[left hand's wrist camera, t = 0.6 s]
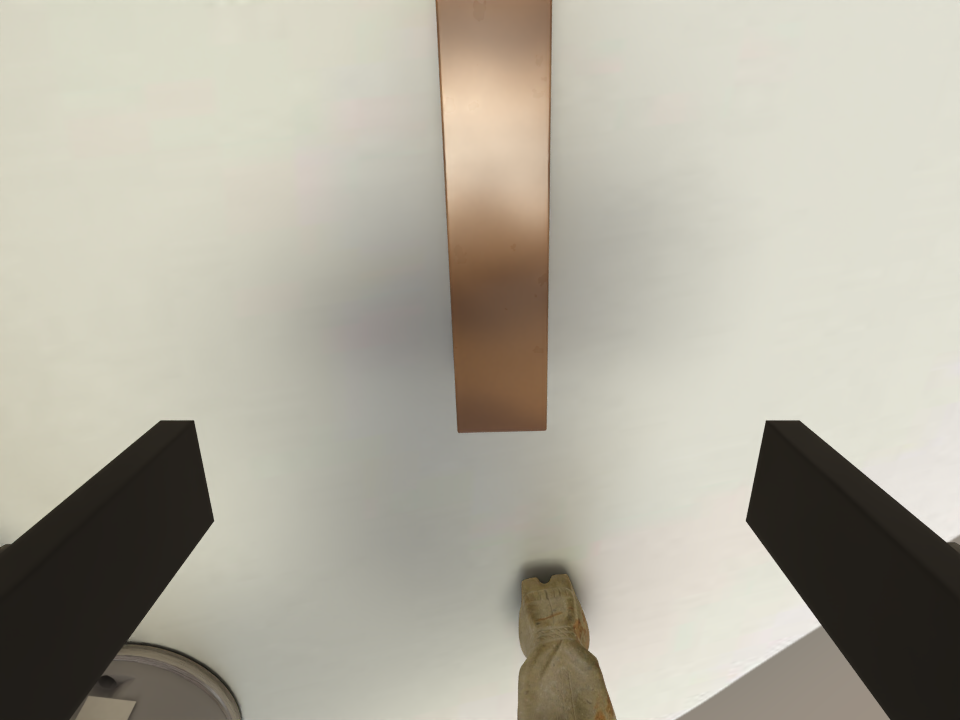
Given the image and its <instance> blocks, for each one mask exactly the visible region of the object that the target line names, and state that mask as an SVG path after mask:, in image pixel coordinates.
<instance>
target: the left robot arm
mask: <svg viewBox="0 0 960 720" xmlns="http://www.w3.org/2000/svg"><path fill="white" fill-rule="evenodd" d="M213 522H214V518H213V513H212V508H211V503H210V498H209V493H208V488H207V483H206V478H205V473H204V468H203V463H202V458H201V453H200V448H199V443H198V438H197V433H196V428H195V423H194V421H159V422H158V423H157V424H156V425H155V426H153V427H152V428H151V429H150V430H149V431H147V432H146V433H145V434H144V435H143V436H141V437H140V438H139V439H138V440H136V441H135V442H134V443H133V444H132V445H130V446H129V447H128V448H127V449H126V450H124V451H123V452H122V453H121V454H120V455H118V456H117V457H116V458H115V459H114V460H112V461H111V462H110V463H109V464H108V465H106V466H105V467H104V468H103V469H102V470H100V471H99V472H98V473H97V474H95V475H94V476H93V477H92V478H91V479H89V480H88V481H87V482H86V483H85V484H83V485H82V486H81V487H80V488H79V489H77V490H76V491H75V492H74V493H73V494H71V495H70V496H69V497H68V498H67V499H65V500H64V501H63V502H62V503H61V504H59V505H58V506H57V507H56V508H54V509H53V510H52V511H51V512H50V513H48V514H47V515H46V516H45V517H44V518H42V519H41V520H40V521H39V522H38V523H36V524H35V525H34V526H33V527H32V528H30V529H29V530H28V531H27V532H26V533H24V534H23V535H22V536H21V537H20V538H18V539H17V540H16V541H15V542H14V543H12V544H5V545H4V546H2V547H0V720H241V718H240V712H239V709H238V706H237V704H236V702H235V700H234V698H233V696H232V695H231V693H230V692H229V690H228V689H227V688H226V686H225V685H224V684H223V683H222V682H221V681H220V680H219V679H218V678H217V677H216V676H215V675H213V674H212V673H211V672H209V671H208V670H207V669H205V668H204V667H202V666H201V665H199V664H198V663H196V662H194V661H192V660H190V659H188V658H186V657H184V656H182V655H179V654H176V653H174V652H171V651H168V650H164V649H160V648H156V647H151V646H145V645H135V644H125V643H126V641H127V640H128V639H129V637H130V636H131V635H132V633H133V632H134V630H135V629H136V628H137V626H138V625H139V624H140V622H141V621H142V619H143V618H144V617H145V615H146V614H147V613H148V611H149V610H150V608H151V607H152V606H153V604H154V603H155V602H156V600H157V599H158V597H159V596H160V595H161V593H162V592H163V591H164V589H165V588H166V586H167V585H168V584H169V582H170V581H171V580H172V578H173V577H174V575H175V574H176V573H177V571H178V570H179V569H180V567H181V566H182V564H183V563H184V562H185V560H186V559H187V558H188V556H189V555H190V553H191V552H192V551H193V549H194V548H195V547H196V545H197V544H198V542H199V541H200V540H201V538H202V537H203V536H204V534H205V533H206V531H207V530H208V529H209V527H210V526H211V525H212V523H213ZM746 522H747V523H748V525H749V526H750V527H751V529H752V530H753V531H754V533H755V534H756V536H757V537H758V538H759V540H760V541H761V542H762V544H763V545H764V547H765V548H766V549H767V551H768V552H769V553H770V555H771V556H772V558H773V559H774V560H775V562H776V563H777V564H778V566H779V567H780V569H781V570H782V571H783V573H784V574H785V575H786V577H787V578H788V580H789V581H790V582H791V584H792V585H793V586H794V588H795V589H796V591H797V592H798V593H799V595H800V596H801V597H802V599H803V600H804V602H805V603H806V604H807V606H808V607H809V608H810V610H811V611H812V613H813V614H814V615H815V617H816V618H817V619H818V621H819V622H820V624H821V625H822V626H823V628H824V629H825V630H826V632H827V633H828V635H829V636H830V637H831V639H832V640H833V641H834V643H835V644H836V646H837V647H838V648H839V650H840V651H841V652H842V654H843V655H844V657H845V658H846V659H847V661H848V662H849V663H850V665H851V666H852V668H853V669H854V670H855V672H856V673H857V674H858V676H859V677H860V678H861V680H862V681H863V683H864V684H865V685H866V687H867V688H868V689H869V691H870V692H871V694H872V695H873V696H874V698H875V699H876V700H877V702H878V703H879V705H880V706H881V707H882V709H883V710H884V712H885V713H886V714H887V716H888V717H889V718H890V720H960V545H959V544H957V543H955V542H945V541H944V540H943V539H942V538H940V537H939V536H938V535H937V534H936V533H934V532H933V531H932V530H931V529H930V528H928V527H927V526H926V525H925V524H924V523H922V522H921V521H920V520H919V519H918V518H916V517H915V516H914V515H913V514H912V513H910V512H909V511H908V510H907V509H906V508H904V507H903V506H902V505H901V504H899V503H898V502H897V501H896V500H895V499H893V498H892V497H891V496H890V495H889V494H887V493H886V492H885V491H884V490H883V489H881V488H880V487H879V486H878V485H877V484H875V483H874V482H873V481H872V480H871V479H869V478H868V477H867V476H866V475H865V474H863V473H862V472H861V471H860V470H858V469H857V468H856V467H855V466H854V465H852V464H851V463H850V462H849V461H848V460H846V459H845V458H844V457H843V456H842V455H840V454H839V453H838V452H837V451H836V450H834V449H833V448H832V447H831V446H830V445H828V444H827V443H826V442H825V441H824V440H822V439H821V438H820V437H819V436H817V435H816V434H815V433H814V432H813V431H811V430H810V429H809V428H808V427H807V426H805V425H804V424H803V423H802V422H801V421H766V423H765V428H764V433H763V438H762V443H761V448H760V453H759V458H758V463H757V468H756V473H755V478H754V483H753V488H752V493H751V498H750V503H749V508H748V513H747V518H746Z"/></svg>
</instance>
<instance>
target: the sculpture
mask: <svg viewBox="0 0 960 720" xmlns="http://www.w3.org/2000/svg"><path fill="white" fill-rule="evenodd" d="M521 588H522V604H521V608H520V613H519V639H520V645H521V649H522V651H523V653H524V655H525V657H526V658H527V659H526V661H525V662H524V663H523V665H522V666H521V668H520V672H519V680H518V720H616V716H615V713H614V710H613V707H612V704H611V701H610V697H609V695H608V692H607V689H606V686H605V682H604V679H603V675H602V672H601V669H600V667H599V664H598V660H597V658H596V657H595V656H594V655H593V654H592V653H590V652H589V651H588V648H589V629H588V625H587V621H586V618H585V615H584V613H583V610H582V608H581V605H580V603H579V601H578V599H577V597H576V595H575V592H574V589H573V586H572V584H571V582H570V579H569V577H568V575H567V574H558V575H552V576H551V578H550V581H549V582H548V583H545V584H543V583H541V582H540V581H539V579H538V578H537V577H534V578H528V579H525V580H523V581H522V584H521Z"/></svg>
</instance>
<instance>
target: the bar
mask: <svg viewBox="0 0 960 720" xmlns="http://www.w3.org/2000/svg"><path fill="white" fill-rule="evenodd" d="M436 18H437V38H438V58H439V77H440V97H441V117H442V136H443V156H444V176H445V195H446V215H447V235H448V255H449V274H450V294H451V314H452V333H453V353H454V373H455V393H456V412H457V431H458V433H472V432H510V431H545V430H546V429H547V358H548V280H549V202H550V123H551V45H552V0H436Z"/></svg>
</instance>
